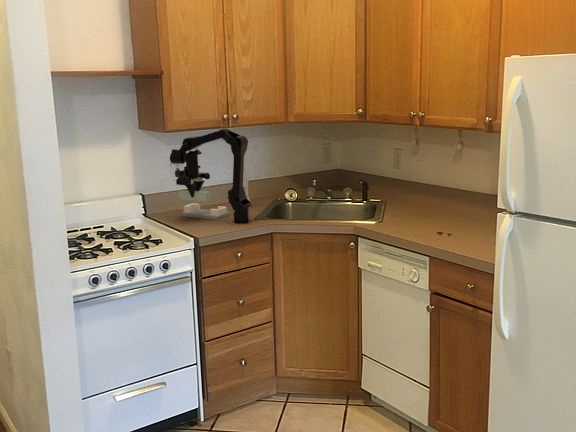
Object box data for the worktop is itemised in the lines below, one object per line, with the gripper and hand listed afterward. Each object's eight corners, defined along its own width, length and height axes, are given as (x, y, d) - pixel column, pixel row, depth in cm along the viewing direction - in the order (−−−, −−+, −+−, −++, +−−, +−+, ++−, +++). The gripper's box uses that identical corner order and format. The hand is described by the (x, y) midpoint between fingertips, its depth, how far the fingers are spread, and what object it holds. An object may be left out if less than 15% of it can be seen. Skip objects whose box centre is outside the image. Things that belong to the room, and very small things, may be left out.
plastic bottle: (242, 208, 333) (239, 169, 328) (234, 206, 338) (232, 167, 334) (252, 206, 337) (250, 167, 332) (245, 204, 342) (243, 166, 337)
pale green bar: (210, 199, 310) (209, 191, 309) (206, 201, 307) (205, 192, 307) (183, 197, 318) (182, 189, 317) (179, 198, 315) (178, 190, 314)
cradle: (229, 215, 319) (229, 206, 318) (217, 220, 311) (216, 210, 310) (194, 211, 331) (194, 202, 330) (181, 215, 322) (180, 206, 321)
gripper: (191, 160, 321) (193, 191, 324) (165, 166, 305) (168, 199, 309) (209, 161, 315) (211, 193, 319) (184, 167, 299) (187, 201, 303)
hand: (194, 196), depth 312 cm, fingers closed on pale green bar, 3 cm apart
